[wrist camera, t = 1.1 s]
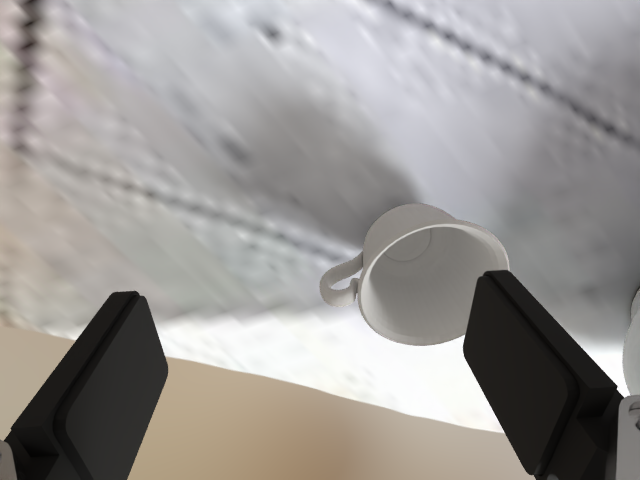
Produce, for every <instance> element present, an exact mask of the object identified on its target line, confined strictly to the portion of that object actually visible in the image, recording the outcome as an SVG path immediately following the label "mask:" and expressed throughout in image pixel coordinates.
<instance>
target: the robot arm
mask: <svg viewBox="0 0 640 480" xmlns="http://www.w3.org/2000/svg"><path fill="white" fill-rule="evenodd" d="M463 353H464V357H465V359H466V361H467V363H468V365H469V367H470V368H471V370H472V372H473V374H474V376H475V378H476V380H477V382H478V383H479V385H480V387H481V389H482V391H483V393H484V395H485V396H486V398H487V400H488V402H489V404H490V406H491V408H492V410H493V411H494V413H495V415H496V417H497V419H498V421H499V423H500V425H501V426H502V428H503V430H504V432H505V434H506V436H507V438H508V439H509V441H510V443H511V445H512V447H513V449H514V451H515V452H516V454H517V456H518V458H519V460H520V462H521V464H522V466H523V467H524V469H525V470H526V472H527V473H528V474H529V475H534V477H535V478H536V480H640V395H631V396H627V397H625V398H624V397H623V396H622V395H621V394H620V393H619V392H618V390H617V387H618V386H617V385H616V384H615V383H614V382H613V381H612V380H611V379H610V378H609V377H608V376H607V374H606V373H605V372H604V371H603V370H602V369H601V368H600V367H599V366H598V365H597V364H596V363H595V362H594V361H593V360H592V358H591V357H590V356H589V355H588V354H587V353H586V352H585V351H584V350H583V349H582V348H581V347H580V346H579V345H578V344H577V342H576V341H575V340H574V339H573V338H572V337H571V336H570V335H569V334H568V333H567V332H566V331H565V330H564V329H563V328H562V326H561V325H560V324H559V323H558V322H557V321H556V320H555V319H554V318H553V317H552V316H551V315H550V314H549V313H548V312H547V311H546V309H545V308H544V307H543V306H542V305H541V304H540V303H539V302H538V301H537V300H536V299H535V298H534V297H533V296H532V295H531V293H530V292H529V291H528V290H527V289H526V288H525V287H524V286H523V285H522V284H521V283H520V282H519V281H518V280H517V279H516V277H515V276H514V275H513V274H512V273H511V272H510V271H508V270H492V271H486V272H484V274H483V276H480V277H478V279H477V283H476V287H475V292H474V297H473V301H472V306H471V311H470V316H469V320H468V325H467V330H466V334H465V339H464V344H463ZM167 376H168V364H167V362H166V358H165V355H164V352H163V349H162V346H161V343H160V340H159V337H158V333H157V330H156V327H155V324H154V321H153V318H152V315H151V312H150V309H149V306H148V303H147V300H146V298H145V297H144V296H140V295H139V293H138V292H136V291H126V292H114V293H112V294H111V295H110V296H109V298H108V299H107V300H106V302H105V303H104V304H103V306H102V307H101V308H100V310H99V311H98V312H97V314H96V315H95V316H94V318H93V319H92V320H91V322H90V323H89V324H88V326H87V327H86V328H85V330H84V331H83V332H82V334H81V335H80V336H79V338H78V339H77V340H76V342H75V343H74V344H73V346H72V347H71V348H70V350H69V351H68V352H67V354H66V355H65V356H64V358H63V359H62V360H61V362H60V363H59V364H58V366H57V367H56V368H55V370H54V371H53V372H52V374H51V375H50V376H49V378H48V379H47V380H46V382H45V383H44V384H43V386H42V387H41V388H40V390H39V391H38V392H37V394H36V395H35V396H34V398H33V399H32V400H31V402H30V403H29V404H28V406H27V407H26V408H25V410H24V411H23V412H22V414H21V415H20V416H19V418H18V419H17V420H16V422H15V423H14V424H13V426H12V427H11V432H10V433H9V435H8V436H7V437H6V439H5V440H4V441H2V440H0V480H127V478H128V476H129V473H130V471H131V468H132V466H133V463H134V460H135V458H136V455H137V453H138V450H139V447H140V445H141V443H142V440H143V437H144V435H145V432H146V430H147V427H148V424H149V422H150V420H151V417H152V414H153V412H154V410H155V407H156V405H157V402H158V399H159V397H160V394H161V392H162V389H163V387H164V384H165V382H166V379H167Z"/></svg>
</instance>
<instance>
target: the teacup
mask: <svg viewBox="0 0 640 480" xmlns="http://www.w3.org/2000/svg"><path fill="white" fill-rule="evenodd" d="M362 267H363V271H362V273H361V276H360V279H357V278H353V279H352V280H351V282H350V286H349V287H348V288H346V289H342V290H333V289H331V287H332V286H333V285H334V284H335V283H337V282H338V281H340V280H342V279H345V278H347V277H350V276H352V275H354V274H356V273H357V272H358V271H359V270H361V268H362ZM492 270H508V271H510V267H509V259H508V256H507V253H506V251H505V248H504V246H503V245H502V244H501V242H500V241H499V240H498V239H497V238H496V237H495V236H494V235H493V234H492V233H491V232H489V231H488V230H486V229H485V228H482V227H480V226H478V225H476V224H473V223H470V222H467V221H461V220H456V219H455V218H454V217H452V216H451V215H449V214H448V213H446V212H444V211H443V210H441V209H438V208H436V207H433V206H430V205H427V204H421V203H410V204H404V205H400V206H397V207H395V208H393V209H391V210H389V211H387V212H386V213H384V214H383V215H381V216H380V217H379V218H378V219H377V220H376V221H375V222H374V223H373V225H372V226H371V227H370V229H369V231H368V233H367V235H366V238H365V241H364V245H363V251H362V252H361V253H360V254H359V255H358V256H357V257H355V258H354V259H353V260H351V261H348V262H346V263H343V264H340V265H338V266H335V267H333V268H331V269H330V270H328V271H327V272H326V273H325V274H324V275H323V276H322V278H321V281H320V293H321V296H322V298H323V300H324V301H325V302H326V303H327V304H329V305H331V306H334V307H344V306H348V305H350V304H352V303H353V302H354V301H355V298H356V293H357V294H358V304H359V308H360V311H361V314H362V316H363V318H364V320H365V321H366V323H367V324H368V325H369V326H370V327H371V328H372V329H373V330H374V331H375V332H376V333H378V334H379V335H381V336H383V337H385V338H387V339H389V340H391V341H394V342H397V343H402V344H407V345H415V346H427V345H435V344H441V343H444V342H448V341H451V340H454V339H456V338H459V337H461V336H463V335H465V334H466V330H467V325H468V320H469V316H470V311H471V306H472V301H473V297H474V292H475V287H476V283H477V279H478V277H480V276H483V274H484V272H486V271H492Z"/></svg>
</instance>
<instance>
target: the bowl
mask: <svg viewBox="0 0 640 480" xmlns="http://www.w3.org/2000/svg"><path fill="white" fill-rule="evenodd" d="M631 320H632V322H631V324H630V327H629V329H628V332H627V335H626V338H625V342H624V348H623V360H622V363H623V372H624V378H625V381H626V385H627V388H628V390H629V393H630V395H640V288H639V290H638V291H637V293H636V295H635V298H634V300H633V302H632V307H631Z"/></svg>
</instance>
